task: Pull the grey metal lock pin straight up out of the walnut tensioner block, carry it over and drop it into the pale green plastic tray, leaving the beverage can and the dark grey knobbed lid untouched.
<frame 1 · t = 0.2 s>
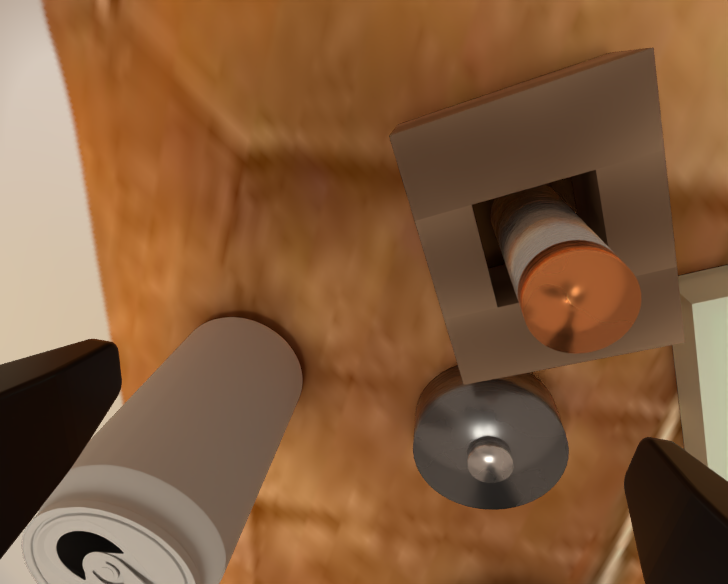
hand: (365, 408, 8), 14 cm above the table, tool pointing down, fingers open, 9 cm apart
beverage can: (248, 363, 26), on the table
lock pin: (546, 248, 16), in the tensioner block
dark grey knobbed lid: (484, 420, 25), on the table
tensioner block: (525, 213, 20), on the table
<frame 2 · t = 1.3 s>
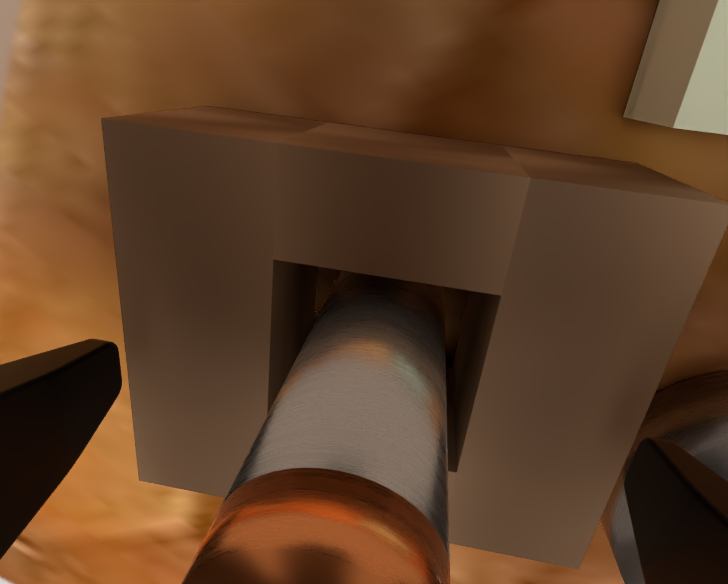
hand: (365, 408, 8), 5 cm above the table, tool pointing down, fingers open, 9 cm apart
lock pin: (368, 388, 9), in the tensioner block
dark grey knobbed lid: (723, 476, 14), on the table
tensioner block: (390, 290, 13), on the table
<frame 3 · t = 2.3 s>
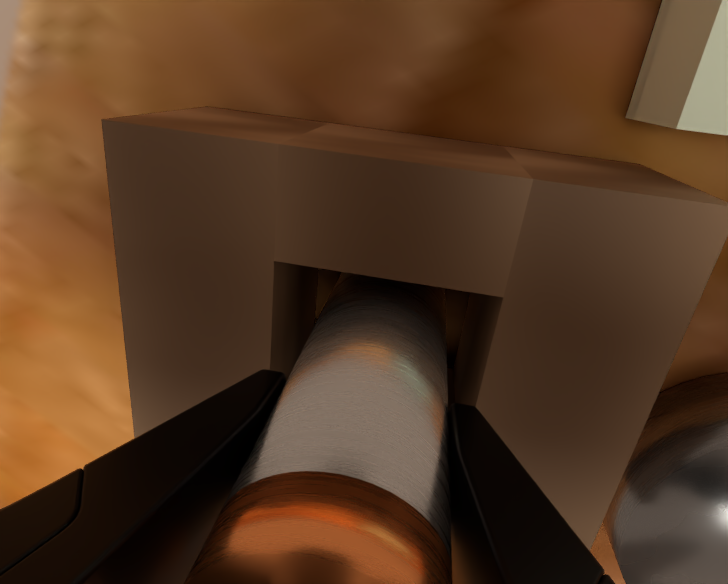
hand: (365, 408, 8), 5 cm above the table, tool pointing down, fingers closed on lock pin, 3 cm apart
lock pin: (369, 390, 9), in the tensioner block, touching gripper
dark grey knobbed lid: (725, 478, 14), on the table
tensioner block: (391, 291, 13), on the table
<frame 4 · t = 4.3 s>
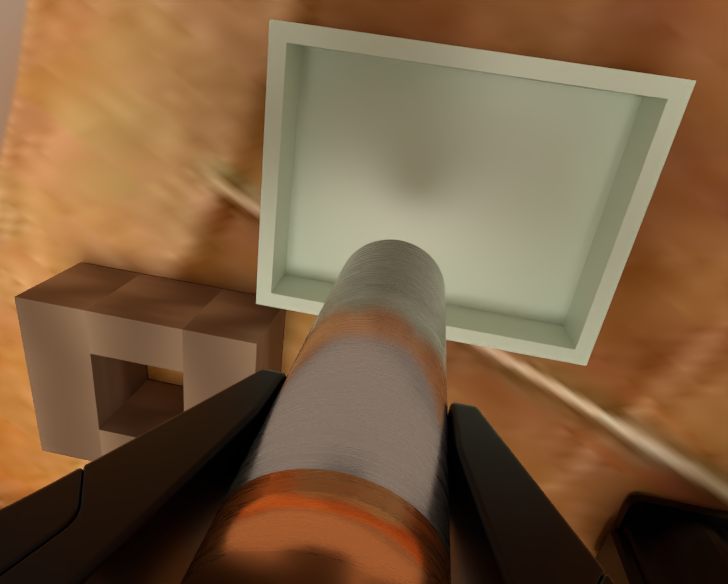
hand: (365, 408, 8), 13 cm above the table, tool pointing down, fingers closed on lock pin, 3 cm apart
lock pin: (368, 388, 9), point 12 cm above the table, touching gripper
tray: (442, 193, 20), on the table
tensioner block: (183, 354, 24), on the table
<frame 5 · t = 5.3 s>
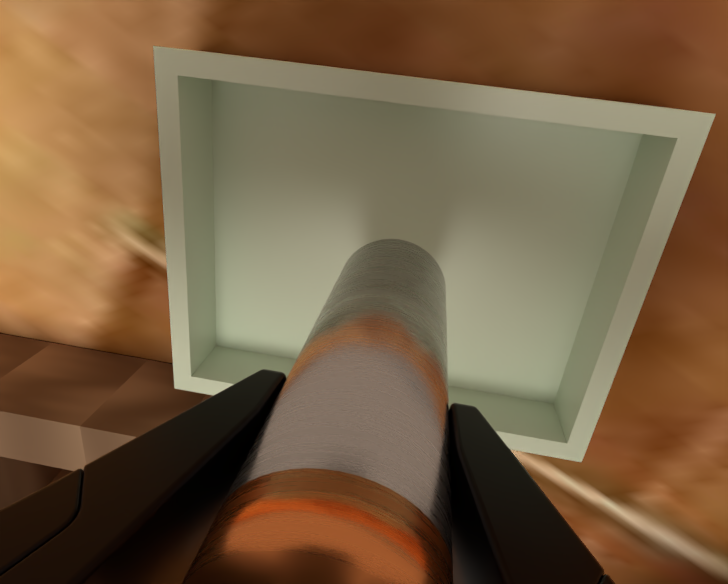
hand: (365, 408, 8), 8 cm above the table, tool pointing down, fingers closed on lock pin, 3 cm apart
lock pin: (369, 388, 9), point 8 cm above the table, touching gripper
tray: (398, 249, 16), on the table
tensioner block: (110, 431, 21), on the table
when the fingers open (7 cm above the table, at t = 6.1 s): lock pin drops 2 cm, resting on tray.
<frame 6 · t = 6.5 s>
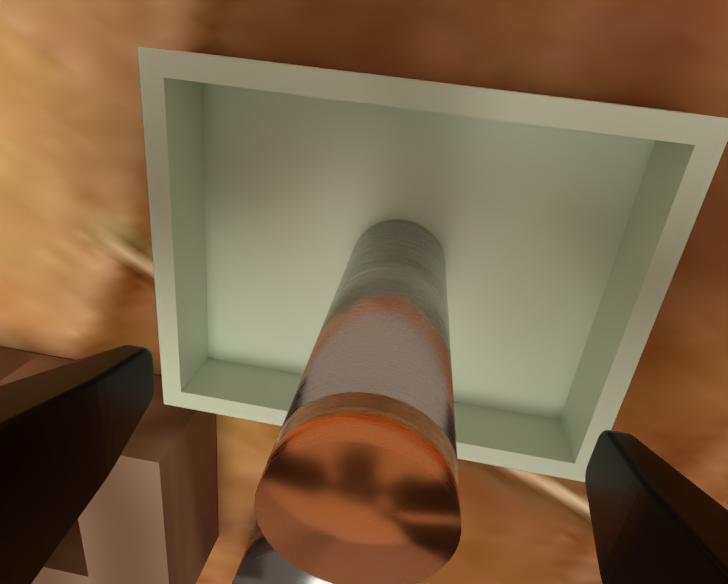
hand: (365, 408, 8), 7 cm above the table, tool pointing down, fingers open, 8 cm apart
lock pin: (384, 344, 11), in the tray
tray: (398, 259, 15), on the table
dark grey knobbed lid: (330, 559, 21), on the table
tensioner block: (100, 444, 20), on the table
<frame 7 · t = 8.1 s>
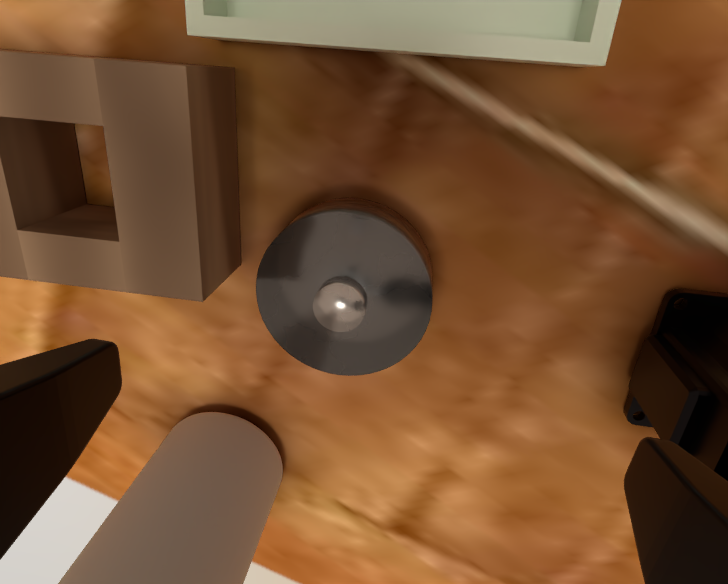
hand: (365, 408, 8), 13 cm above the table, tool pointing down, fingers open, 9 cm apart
beverage can: (231, 448, 27), on the table
dark grey knobbed lid: (351, 277, 21), on the table
tensioner block: (123, 162, 21), on the table
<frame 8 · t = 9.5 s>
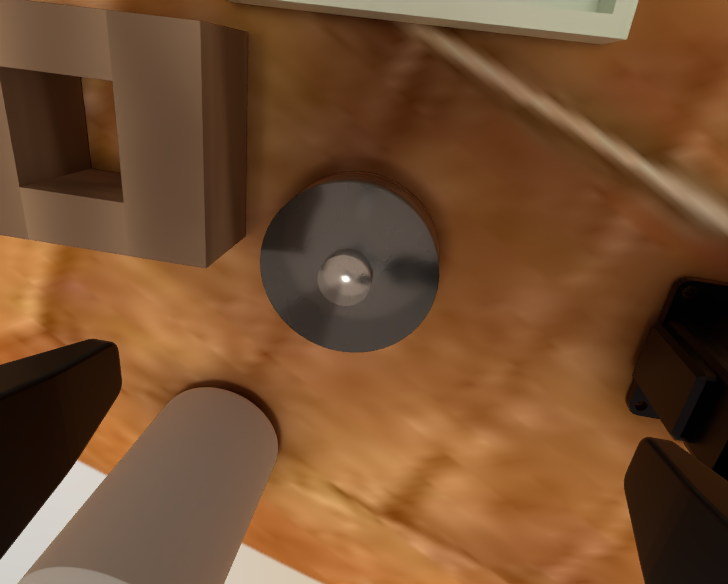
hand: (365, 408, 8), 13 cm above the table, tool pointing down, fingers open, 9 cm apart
beverage can: (226, 426, 26), on the table
dark grey knobbed lid: (357, 253, 21), on the table
tensioner block: (130, 126, 20), on the table
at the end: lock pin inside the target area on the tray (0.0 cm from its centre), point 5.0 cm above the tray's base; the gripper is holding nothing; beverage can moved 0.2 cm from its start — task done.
